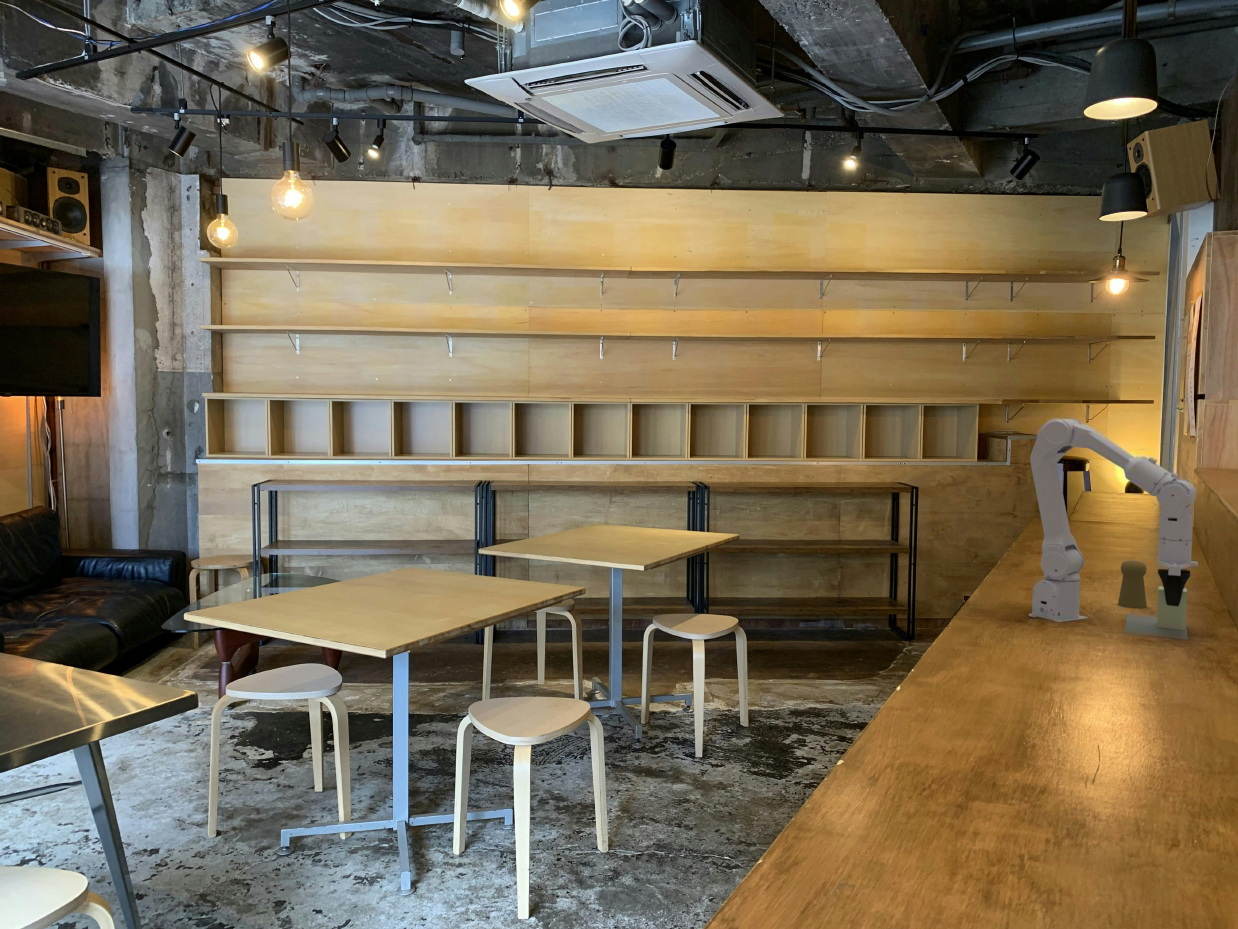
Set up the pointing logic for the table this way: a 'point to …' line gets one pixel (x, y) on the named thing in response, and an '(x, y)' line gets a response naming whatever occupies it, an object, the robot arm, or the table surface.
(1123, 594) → the cork
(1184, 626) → the block
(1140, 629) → the mat
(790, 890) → the table surface
